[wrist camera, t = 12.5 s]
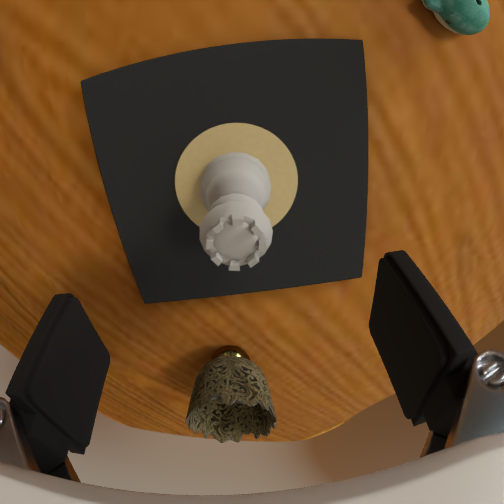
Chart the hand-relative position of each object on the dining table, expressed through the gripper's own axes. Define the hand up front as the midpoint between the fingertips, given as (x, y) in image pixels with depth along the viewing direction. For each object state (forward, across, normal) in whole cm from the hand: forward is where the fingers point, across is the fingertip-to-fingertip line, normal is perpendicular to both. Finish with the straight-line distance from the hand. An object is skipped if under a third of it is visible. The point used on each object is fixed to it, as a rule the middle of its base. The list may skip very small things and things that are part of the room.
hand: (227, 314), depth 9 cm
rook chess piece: (+13, 0, +1) cm, 13 cm away
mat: (+13, 0, +1) cm, 13 cm away
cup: (+13, +2, +18) cm, 22 cm away
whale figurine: (+13, -16, -13) cm, 25 cm away
